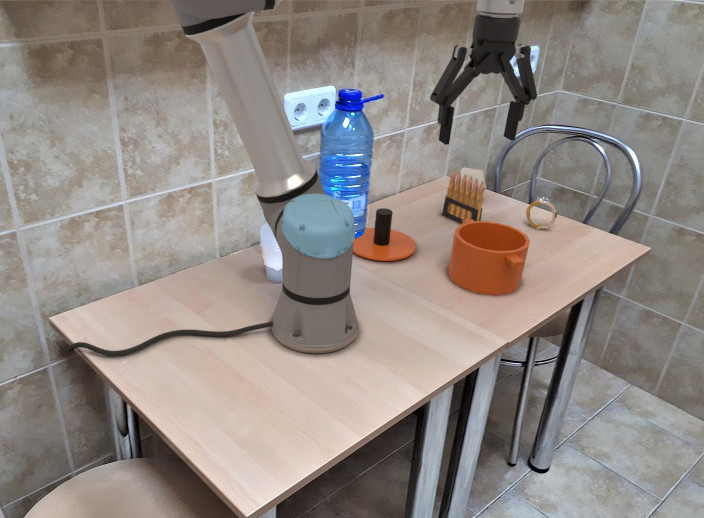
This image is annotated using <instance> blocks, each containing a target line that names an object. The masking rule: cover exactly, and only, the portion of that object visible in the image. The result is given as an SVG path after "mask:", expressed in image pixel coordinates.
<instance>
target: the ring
mask: <svg viewBox="0 0 704 518" xmlns="http://www.w3.org/2000/svg"><path fill="white" fill-rule="evenodd" d="M551 201H552V199H549V198H548V196H542V197H539V196H537V197H536V199H535V200H534V201H532V202H531V203H530V204H529V206H527V207H526V210H525V215H526V219H527V222H528V223H529V224H530V225H531V226H532V227H534V228H535V229H536V230H539V229H547V228H549V227H551V226H552V225H554V223H555V222H556V220H557V217H558V210H557V208H556V206H555V204H554V203H552V202H551ZM540 205H544V206H545V205H546V206H547V207H549V208H550V209H551V212H552V219H551V221H550V222H548V223H547V224H541V223H536V222H535V221H534V220H533V219H532V217H531V209H532V208H533V207H535V206H540Z"/></svg>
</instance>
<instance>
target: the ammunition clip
mask: <svg viewBox="0 0 704 518" xmlns="http://www.w3.org/2000/svg"><path fill="white" fill-rule="evenodd" d="M456 176H457V178H456ZM449 178H450V179H449V183H448V187H447V191H446V196H444V197H445V198H444V202H443V208H442V213H441V215H442V216H443V217H445V218H448V219H450V220H452V221H455V222H457V223H459V224H460V225H462V220H468V219H473V220H474V221H482V213H483V201H484V192H485V191H484V181H482V182H481V184H480V186H479V190H478V179H476V180H475V182H474V185H473V189H472V176H471V177H470V178H469V181H468V184H467V176H466V174H465V175H464V177H463V179H462V183H461V173H460V171H459V172H458V173H457V175H456V170H455V169H453V170H452V172H451V174H450V177H449ZM455 178H456V183H455ZM466 184H467V188H466ZM460 185H461V188H460ZM477 191H478V194H477ZM483 191H484V192H483Z"/></svg>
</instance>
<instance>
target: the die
mask: <svg viewBox="0 0 704 518" xmlns="http://www.w3.org/2000/svg"><path fill="white" fill-rule="evenodd" d="M459 172H460V173H461V183H462V179H463V177H464V175H465V174H466V176H467V184H468V181H469V178H470V177H471V176H472V189H473V185H474V182H475V180H476V179H478V190H479V186H480V184H481V182H482V181H484V191H483V193H485V191H486V190H487V183H486V179H485V173H484V170H482V169H478V168H477V169H476V168H470V167H464V166H463V167H462V168H461V170H460V171H459ZM456 178H457V175H455V183H456ZM467 184H466V188H467ZM460 188H461V185H460ZM477 194H478V191H477Z"/></svg>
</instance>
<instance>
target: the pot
mask: <svg viewBox="0 0 704 518" xmlns="http://www.w3.org/2000/svg"><path fill="white" fill-rule="evenodd" d="M530 244H531V240H530V238H529V236H528V235H527V234H526V233H524V232H523V231H522V230H520V229H518V228H516V227H513V226H511V225H508V224H505V223H500V222H496V221H487V220H481V221H474V220H473V219H468V220H462V224H460V225H458V226H457V227H456V228H455V230H454V235H453V239H452V246H451V252H450V259H449V264H448V268H447V269H448V270H447V271H448V278H449V279H450V280H451V281H452V282H453V283H454V284H455V285H457V286H458V287H460V288H462V289H464V290H466V291H469V292H472V293H476V294H480V295H486V296H503V295H508V294H511V293H513V292H515V291H516V290H518V288H519V287H520V284H521V281H522V277H523V273H524V268H525V264H526V260H527V256H528V251H529V248H530Z"/></svg>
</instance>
